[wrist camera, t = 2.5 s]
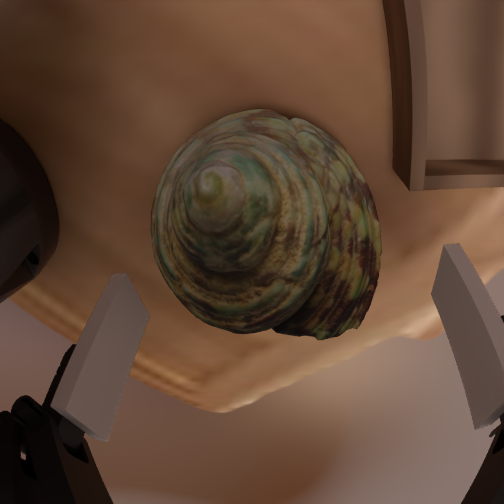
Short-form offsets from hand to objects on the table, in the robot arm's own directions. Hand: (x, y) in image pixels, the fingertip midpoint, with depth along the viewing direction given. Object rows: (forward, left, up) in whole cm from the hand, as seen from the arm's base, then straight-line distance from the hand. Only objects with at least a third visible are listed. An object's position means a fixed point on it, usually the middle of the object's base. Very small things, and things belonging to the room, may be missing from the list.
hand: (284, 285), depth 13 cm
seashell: (0, 0, -8) cm, 8 cm away
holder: (+14, +15, -7) cm, 21 cm away
